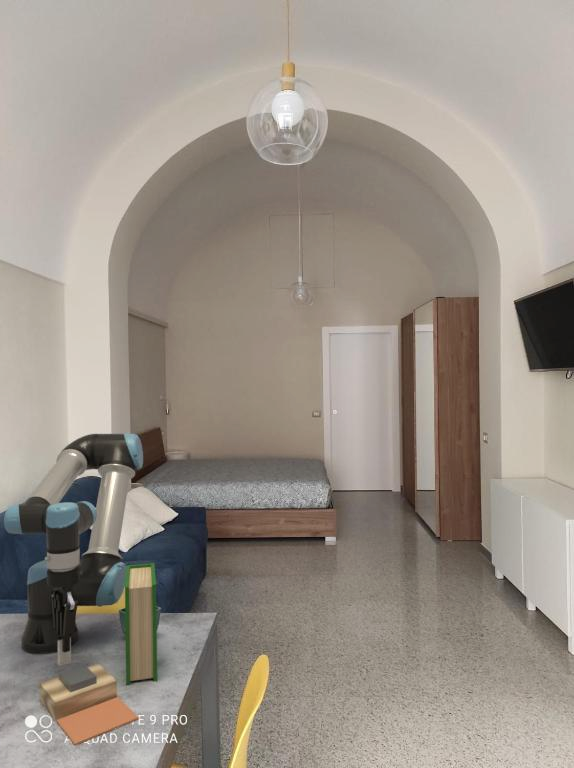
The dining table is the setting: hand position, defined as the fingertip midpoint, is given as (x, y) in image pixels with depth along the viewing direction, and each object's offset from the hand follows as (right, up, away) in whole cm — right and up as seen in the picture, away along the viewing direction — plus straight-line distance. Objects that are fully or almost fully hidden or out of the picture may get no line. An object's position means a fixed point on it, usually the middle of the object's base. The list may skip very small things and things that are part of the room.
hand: (64, 663), depth 141 cm
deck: (+6, -5, -7) cm, 10 cm away
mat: (+13, -5, -16) cm, 21 cm away
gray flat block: (+6, -1, -6) cm, 9 cm away
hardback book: (+17, -5, +8) cm, 20 cm away
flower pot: (+12, -5, +24) cm, 28 cm away
